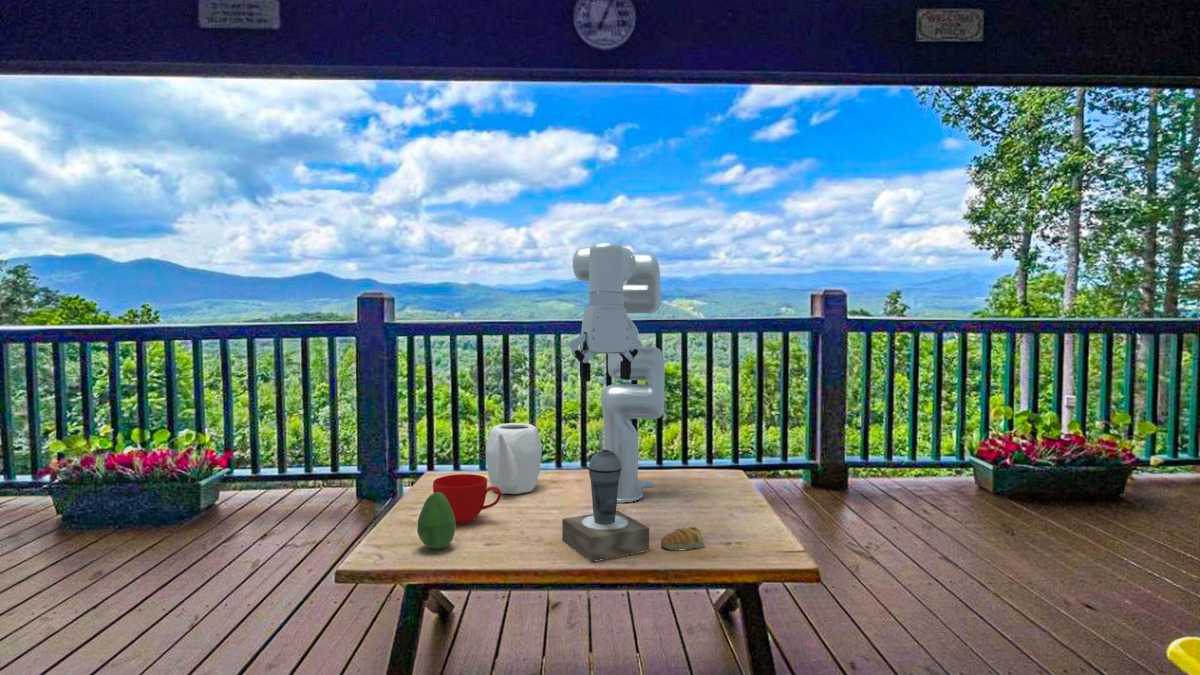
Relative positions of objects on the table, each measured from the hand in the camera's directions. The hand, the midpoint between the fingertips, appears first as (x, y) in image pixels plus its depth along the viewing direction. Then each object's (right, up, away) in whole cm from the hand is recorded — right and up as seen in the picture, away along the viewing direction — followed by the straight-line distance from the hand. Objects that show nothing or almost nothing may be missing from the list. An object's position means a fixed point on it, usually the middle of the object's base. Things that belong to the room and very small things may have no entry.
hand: (605, 380), depth 136 cm
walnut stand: (0, -36, +1) cm, 36 cm away
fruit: (-36, -36, -1) cm, 51 cm away
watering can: (-26, -35, +45) cm, 63 cm away
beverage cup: (0, -31, +1) cm, 31 cm away
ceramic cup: (-34, -36, +17) cm, 52 cm away
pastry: (+17, -37, +1) cm, 41 cm away
